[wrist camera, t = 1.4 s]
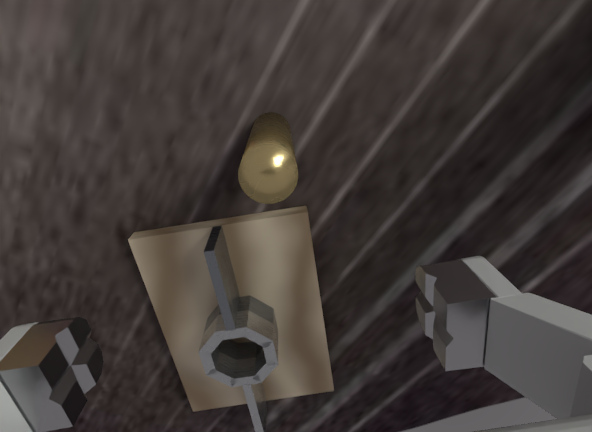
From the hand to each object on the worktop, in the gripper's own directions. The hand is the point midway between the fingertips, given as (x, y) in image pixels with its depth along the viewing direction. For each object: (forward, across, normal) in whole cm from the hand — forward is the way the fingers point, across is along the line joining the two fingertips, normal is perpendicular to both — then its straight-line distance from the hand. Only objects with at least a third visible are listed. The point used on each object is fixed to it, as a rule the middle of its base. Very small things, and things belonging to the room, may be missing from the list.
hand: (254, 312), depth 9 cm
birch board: (+24, +6, +18) cm, 30 cm away
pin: (+24, 0, 0) cm, 24 cm away
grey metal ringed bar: (+22, +6, +18) cm, 29 cm away
